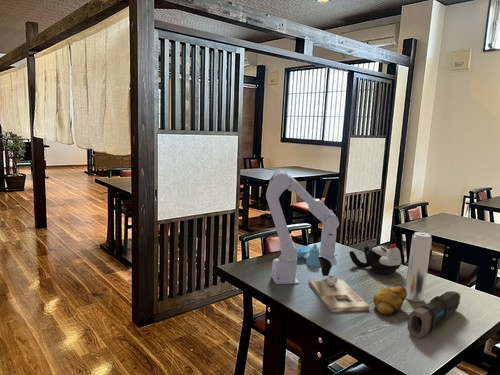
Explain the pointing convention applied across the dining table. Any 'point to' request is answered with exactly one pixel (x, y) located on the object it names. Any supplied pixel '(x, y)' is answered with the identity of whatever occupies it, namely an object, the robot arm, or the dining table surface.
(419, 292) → the silver cylinder
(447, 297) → the tube
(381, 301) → the bread roll
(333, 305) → the ash board
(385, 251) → the toy
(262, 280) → the dining table surface
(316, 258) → the light blue lumpy shape
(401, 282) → the dining table surface
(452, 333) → the dining table surface
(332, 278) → the steel ball
